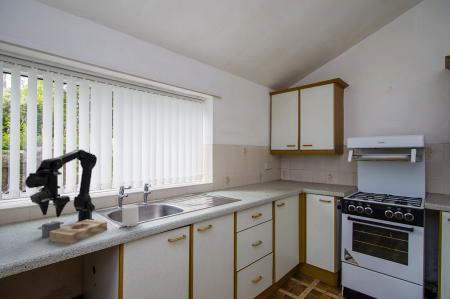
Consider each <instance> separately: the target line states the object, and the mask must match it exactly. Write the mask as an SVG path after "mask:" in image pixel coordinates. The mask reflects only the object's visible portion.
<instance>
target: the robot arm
mask: <svg viewBox="0 0 450 299" xmlns="http://www.w3.org/2000/svg"><path fill="white" fill-rule="evenodd" d="M74 160H78V161H79V165H80V166H81V169H82V170H81V179H80V185H79V193H78V195H75V196H74V197H73V202H72V203H73V208H74V209H75V211H76V212H78V215H77V221H76V223H77V222H80V221H83V220H86V219H88V220H95V219H94V218H93V212H94V211H95V209H96V205H95V204H93V202H92V197H91V195H90V189H91V180H92V174H93V169H95V166H96V165H97V160H98V157H97V156H96V155H95V154H93V153H91V152H88V151H86V150H84V149H77V148H76V149H73V150H71V151H69V152H67V153H64V154H63V155H60V156H56V157H51V158H46V159H43V160H42V161H41V163H40V165H39V166H38V168H37V170H36V171H35V172H29V174H28V176H27V177H26V178H25V182H24V183H25V185H26V187H27V188H28V189H34V188H40V191H37V192H35V193H33V194H31V195H30V196H29V198H30V201H31V203H32V204H36V205H38V207H39V208H40V211H41V214H42V216H46V215H47V213H48V209H49V205H50V203H51V202H52V203H53V204H52V206H53V207H55V215H56V218H59V217H60V216H61V214H62V212H63V211H64V208H65V207H66V205H67V204H68V203H70V202H71V197H70V196H69V195H61V193H59V189H61V186H60V185H59V181H58V180H59V176H60V175H62V172H60V171H59V170H60V169H62V168H63V166H64V165H65V164H67V163H70V162H72V161H74ZM50 201H51V202H50Z"/></svg>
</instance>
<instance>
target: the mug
mask: <svg viewBox="0 0 450 299" xmlns="http://www.w3.org/2000/svg"><path fill="white" fill-rule="evenodd" d="M121 210H122V213H121V214H122V217H121V218H122V219H121V220H122V223H121V224H122V226H123V227H125V226H127V228H130V227H129V226H132V227H134V226H135V227H136V226H137V225H138V224H139V205H138V204H127V205H123V206H122V209H121Z"/></svg>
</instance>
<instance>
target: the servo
mask: <svg viewBox="0 0 450 299" xmlns="http://www.w3.org/2000/svg"><path fill="white" fill-rule="evenodd" d="M63 224H65V222H63V221H58V220H54V221H46V222H45V223H43V224H42V225H41V226H39V227H37V230H41V231H42V232H41V237H42V238H46V239H47V238H49V239H50V231H53V230H56V229H59V228H61V225H63Z"/></svg>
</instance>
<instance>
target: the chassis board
mask: <svg viewBox="0 0 450 299" xmlns="http://www.w3.org/2000/svg"><path fill="white" fill-rule="evenodd" d="M106 230H108V221H103V220H97V219H94V220H88V219H86V220H83V221H80V222H77V221H76V222H75V223H71V224H67V225H66V226H63V227H60V228H59V229H56V230H53V231H50V237H49V241H53V242H59V243H63V244H70V245H73V244H75V243H78V242H80V241H82V240H85V239H87V238H89V237H92V236H94V235H97V234H100V233H102V232H104V231H106Z"/></svg>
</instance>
